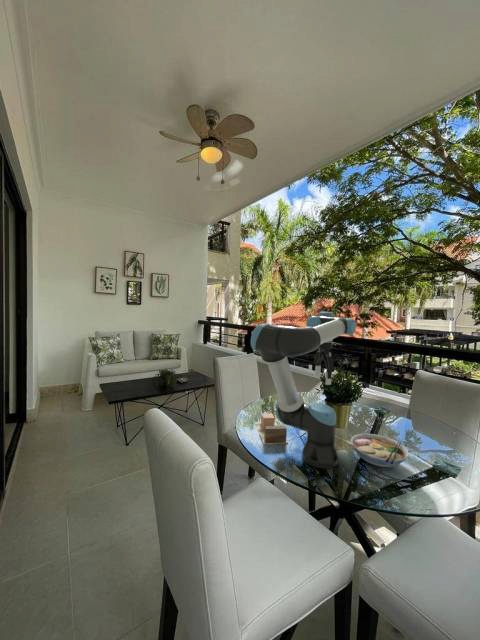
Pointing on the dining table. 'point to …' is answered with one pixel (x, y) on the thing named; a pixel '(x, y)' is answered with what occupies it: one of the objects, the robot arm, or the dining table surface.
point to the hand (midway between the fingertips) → (322, 380)
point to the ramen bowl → (379, 450)
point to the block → (267, 420)
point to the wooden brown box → (272, 434)
